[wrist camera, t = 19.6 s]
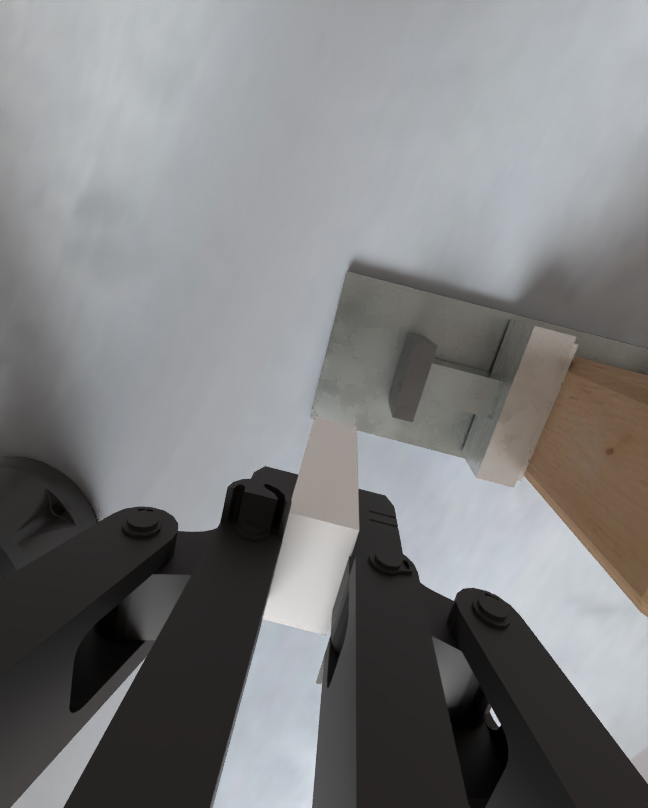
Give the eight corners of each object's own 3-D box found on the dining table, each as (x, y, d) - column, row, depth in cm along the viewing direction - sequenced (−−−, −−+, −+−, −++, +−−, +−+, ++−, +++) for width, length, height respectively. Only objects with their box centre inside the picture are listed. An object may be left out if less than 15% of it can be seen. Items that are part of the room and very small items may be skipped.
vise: (311, 414, 40) (303, 436, 34) (347, 271, 36) (345, 269, 30) (638, 500, 39) (686, 537, 34) (708, 364, 36) (775, 380, 30)
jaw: (378, 431, 38) (381, 452, 33) (419, 296, 35) (428, 298, 30) (500, 463, 38) (521, 489, 33) (553, 331, 35) (585, 338, 30)
